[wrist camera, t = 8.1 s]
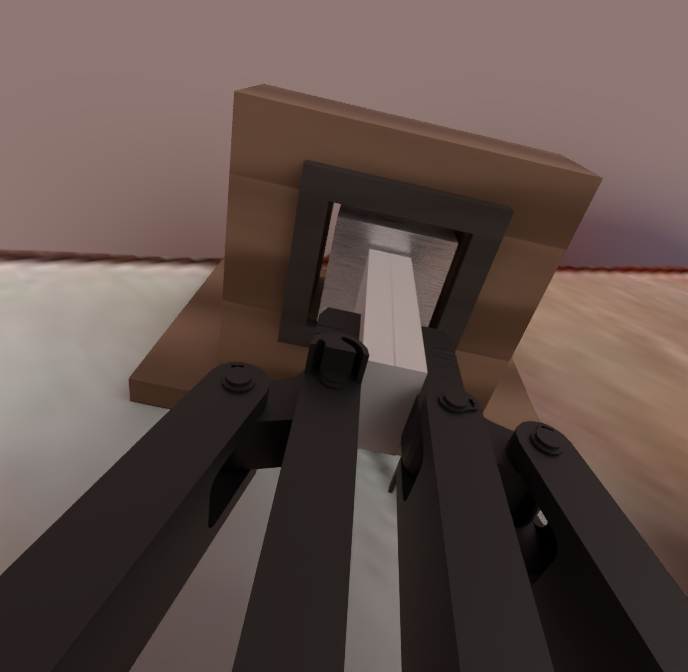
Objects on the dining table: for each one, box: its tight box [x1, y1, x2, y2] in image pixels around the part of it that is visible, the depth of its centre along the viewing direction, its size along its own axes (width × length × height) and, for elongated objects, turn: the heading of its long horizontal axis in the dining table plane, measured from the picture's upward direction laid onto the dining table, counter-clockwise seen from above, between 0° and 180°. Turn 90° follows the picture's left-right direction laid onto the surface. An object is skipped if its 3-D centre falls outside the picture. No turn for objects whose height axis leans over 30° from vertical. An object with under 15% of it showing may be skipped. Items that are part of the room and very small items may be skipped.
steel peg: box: [317, 204, 458, 327], centre depth 25 cm, size 22×4×4 cm, turn 175°
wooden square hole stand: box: [129, 84, 602, 455], centre depth 21 cm, size 14×18×12 cm
